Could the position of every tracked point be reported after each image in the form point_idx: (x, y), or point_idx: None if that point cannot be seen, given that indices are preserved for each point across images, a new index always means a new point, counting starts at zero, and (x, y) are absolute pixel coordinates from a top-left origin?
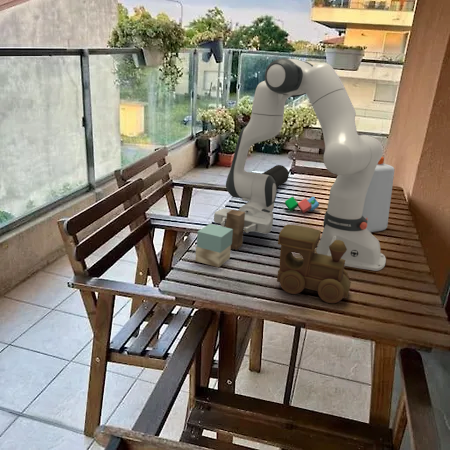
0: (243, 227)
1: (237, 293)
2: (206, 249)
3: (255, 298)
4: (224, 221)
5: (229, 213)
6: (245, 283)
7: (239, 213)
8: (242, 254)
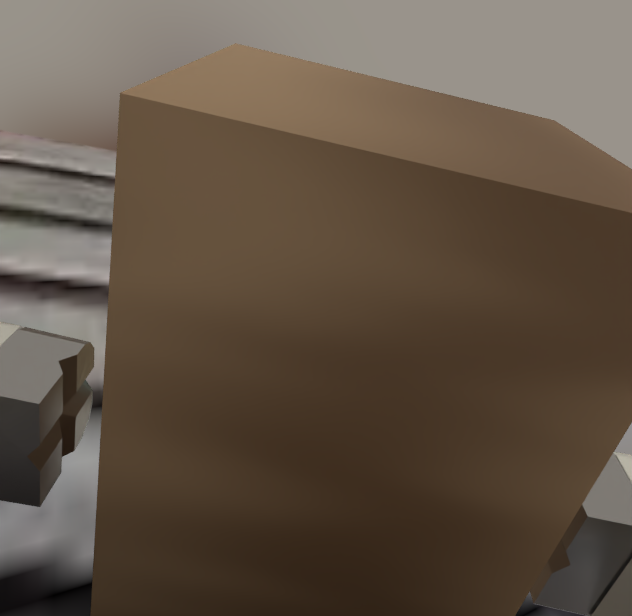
0: (101, 574)
1: (90, 175)
2: None
3: (4, 156)
4: (618, 492)
5: (498, 109)
6: (48, 210)
7: (291, 79)
8: (68, 506)
